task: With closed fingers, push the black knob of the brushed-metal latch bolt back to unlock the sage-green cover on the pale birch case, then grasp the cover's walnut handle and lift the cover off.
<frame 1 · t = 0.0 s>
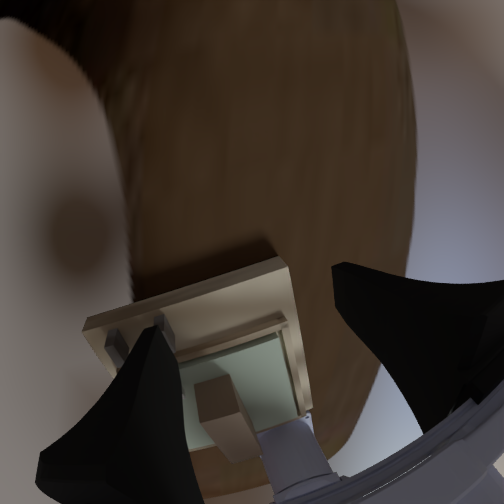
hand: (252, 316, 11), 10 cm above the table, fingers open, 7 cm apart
latch bolt: (157, 393, 17), point 5 cm above the table, slide at 0.0 cm
case: (213, 369, 25), on the table
cover: (223, 398, 24), point 2 cm above the table, touching case
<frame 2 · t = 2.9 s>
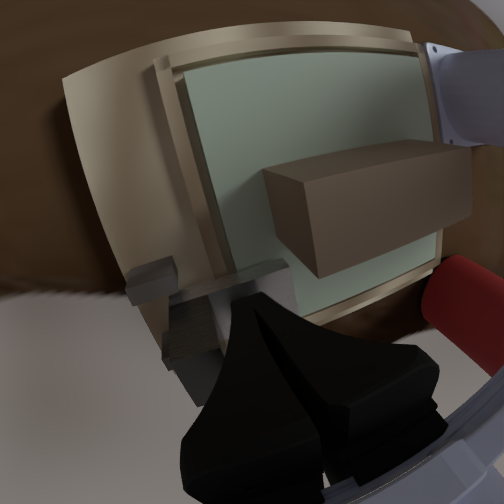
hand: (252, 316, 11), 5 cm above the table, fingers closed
latch bolt: (243, 327, 11), point 5 cm above the table, slide at 0.0 cm, touching gripper
case: (288, 182, 15), on the table
cover: (340, 178, 13), point 2 cm above the table, touching case
beer can: (440, 285, 21), on the table
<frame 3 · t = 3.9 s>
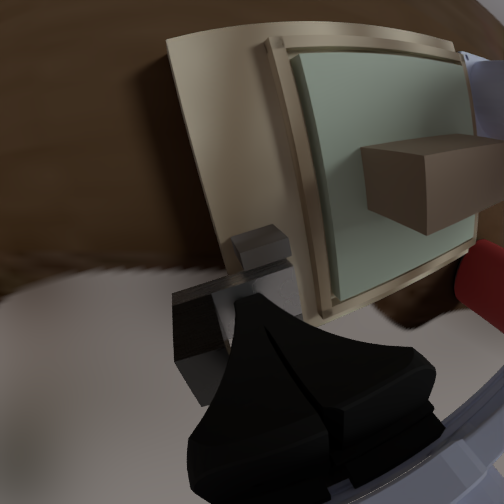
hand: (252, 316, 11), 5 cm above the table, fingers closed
latch bolt: (247, 326, 11), point 5 cm above the table, slide at 4.6 cm, touching gripper
case: (361, 164, 15), on the table
cover: (408, 163, 14), point 2 cm above the table, touching case
beer can: (468, 267, 22), on the table
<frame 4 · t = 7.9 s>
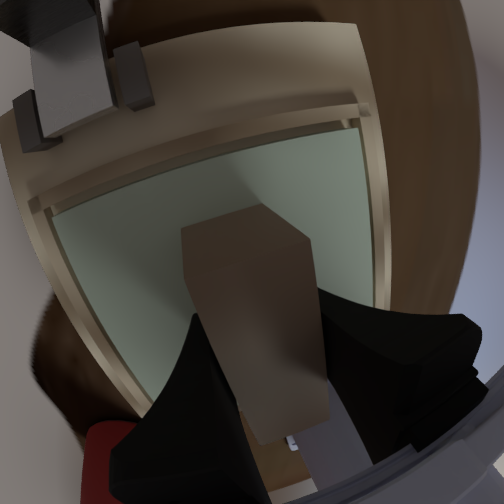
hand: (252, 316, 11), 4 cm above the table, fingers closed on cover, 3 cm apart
latch bolt: (50, 42, 4), point 5 cm above the table, slide at 4.6 cm
case: (223, 239, 14), on the table
cover: (243, 295, 13), point 2 cm above the table, touching case, gripper
beer can: (127, 436, 17), on the table
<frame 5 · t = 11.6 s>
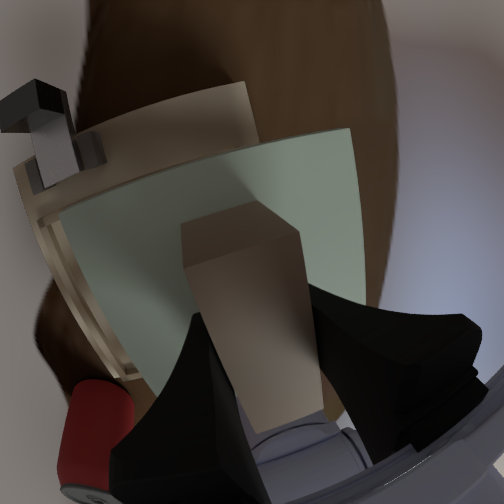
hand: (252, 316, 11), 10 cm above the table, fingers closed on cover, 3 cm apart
latch bolt: (41, 138, 11), point 5 cm above the table, slide at 4.6 cm
case: (159, 243, 20), on the table
cover: (239, 288, 13), point 8 cm above the table, touching gripper
beer can: (104, 396, 23), on the table
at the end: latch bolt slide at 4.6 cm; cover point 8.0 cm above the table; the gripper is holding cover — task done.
